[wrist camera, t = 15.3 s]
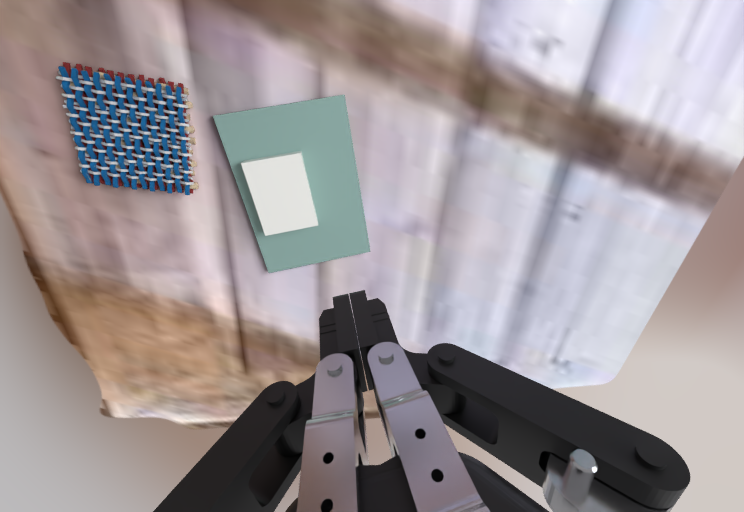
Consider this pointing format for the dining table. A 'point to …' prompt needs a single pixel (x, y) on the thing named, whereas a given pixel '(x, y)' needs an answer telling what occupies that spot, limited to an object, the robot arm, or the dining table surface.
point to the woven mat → (129, 129)
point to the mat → (324, 171)
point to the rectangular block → (281, 192)
